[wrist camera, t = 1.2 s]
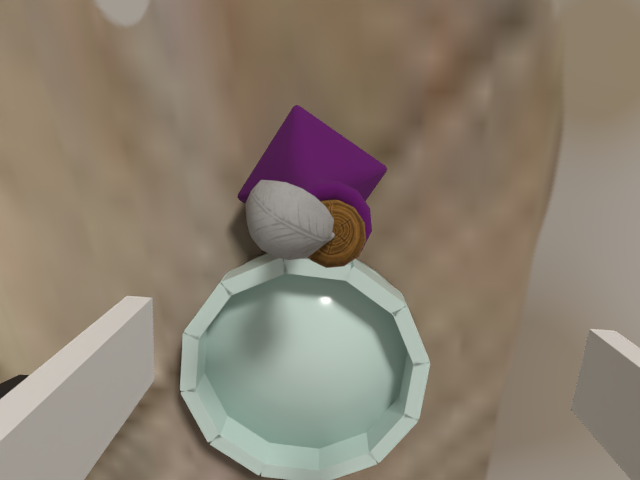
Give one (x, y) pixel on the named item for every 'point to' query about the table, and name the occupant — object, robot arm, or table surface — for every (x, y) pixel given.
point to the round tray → (304, 368)
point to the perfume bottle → (311, 194)
